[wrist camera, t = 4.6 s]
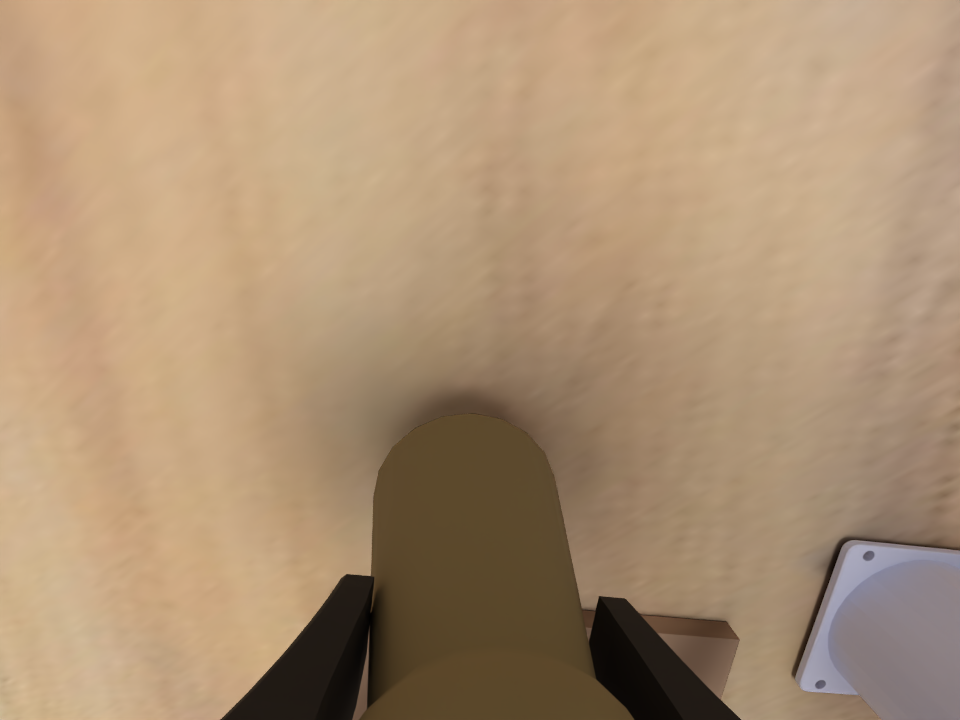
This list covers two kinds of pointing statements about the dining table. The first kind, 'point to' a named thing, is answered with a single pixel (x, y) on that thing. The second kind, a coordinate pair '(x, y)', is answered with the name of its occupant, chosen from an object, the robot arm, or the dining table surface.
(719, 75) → the dining table surface
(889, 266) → the dining table surface
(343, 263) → the dining table surface
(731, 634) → the socket board
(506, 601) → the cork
